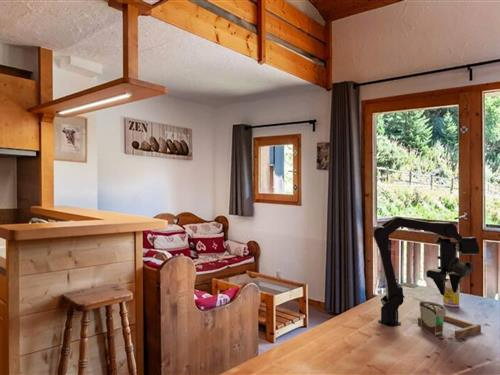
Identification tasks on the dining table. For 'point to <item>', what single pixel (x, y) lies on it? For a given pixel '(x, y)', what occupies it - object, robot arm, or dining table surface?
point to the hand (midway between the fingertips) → (448, 293)
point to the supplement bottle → (450, 295)
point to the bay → (465, 331)
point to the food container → (432, 317)
